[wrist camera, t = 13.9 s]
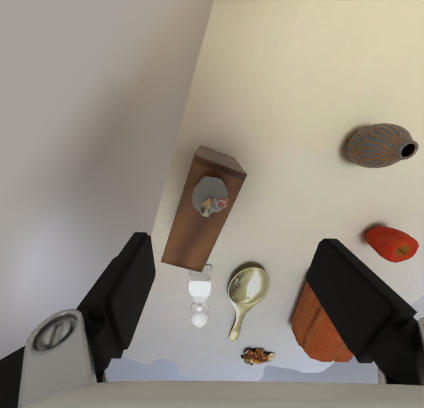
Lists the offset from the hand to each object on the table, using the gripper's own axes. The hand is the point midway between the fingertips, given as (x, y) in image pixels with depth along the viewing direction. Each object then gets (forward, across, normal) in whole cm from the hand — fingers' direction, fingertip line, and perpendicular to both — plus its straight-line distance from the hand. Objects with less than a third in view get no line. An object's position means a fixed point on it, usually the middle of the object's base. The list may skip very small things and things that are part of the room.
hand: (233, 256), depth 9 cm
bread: (+25, -32, +38) cm, 56 cm away
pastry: (+25, -18, +68) cm, 74 cm away
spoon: (+25, -9, +42) cm, 50 cm away
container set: (+25, +3, +36) cm, 44 cm away
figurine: (+14, +1, +2) cm, 14 cm away
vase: (+26, -26, -4) cm, 37 cm away
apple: (+26, -37, +14) cm, 47 cm away
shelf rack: (+25, +3, +6) cm, 26 cm away
